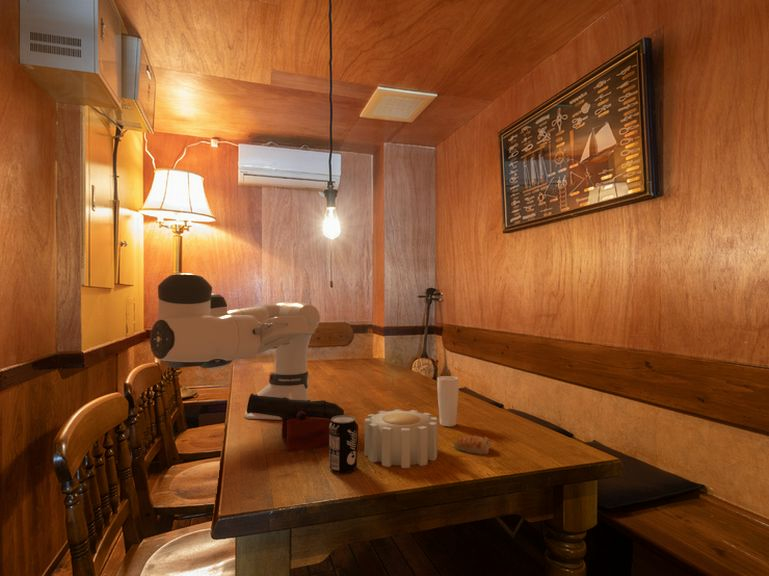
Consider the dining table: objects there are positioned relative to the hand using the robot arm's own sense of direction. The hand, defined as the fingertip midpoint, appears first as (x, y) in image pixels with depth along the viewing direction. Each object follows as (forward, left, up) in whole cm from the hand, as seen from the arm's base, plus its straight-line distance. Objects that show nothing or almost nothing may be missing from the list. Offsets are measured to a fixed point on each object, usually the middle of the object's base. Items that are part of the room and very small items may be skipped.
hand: (300, 335), depth 98 cm
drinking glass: (+43, +40, -33) cm, 67 cm away
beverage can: (+10, +7, -33) cm, 35 cm away
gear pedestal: (+25, +16, -32) cm, 44 cm away
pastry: (+45, +17, -33) cm, 58 cm away
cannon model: (-2, +26, -33) cm, 42 cm away
